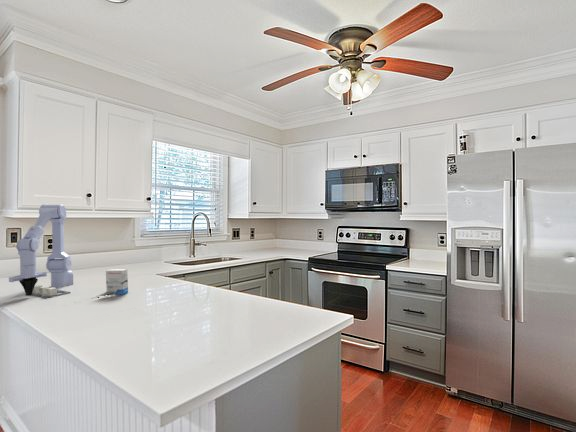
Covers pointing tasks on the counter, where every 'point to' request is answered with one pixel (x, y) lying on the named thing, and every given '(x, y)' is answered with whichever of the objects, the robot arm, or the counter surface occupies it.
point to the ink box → (117, 281)
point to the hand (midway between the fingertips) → (28, 295)
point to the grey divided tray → (52, 295)
